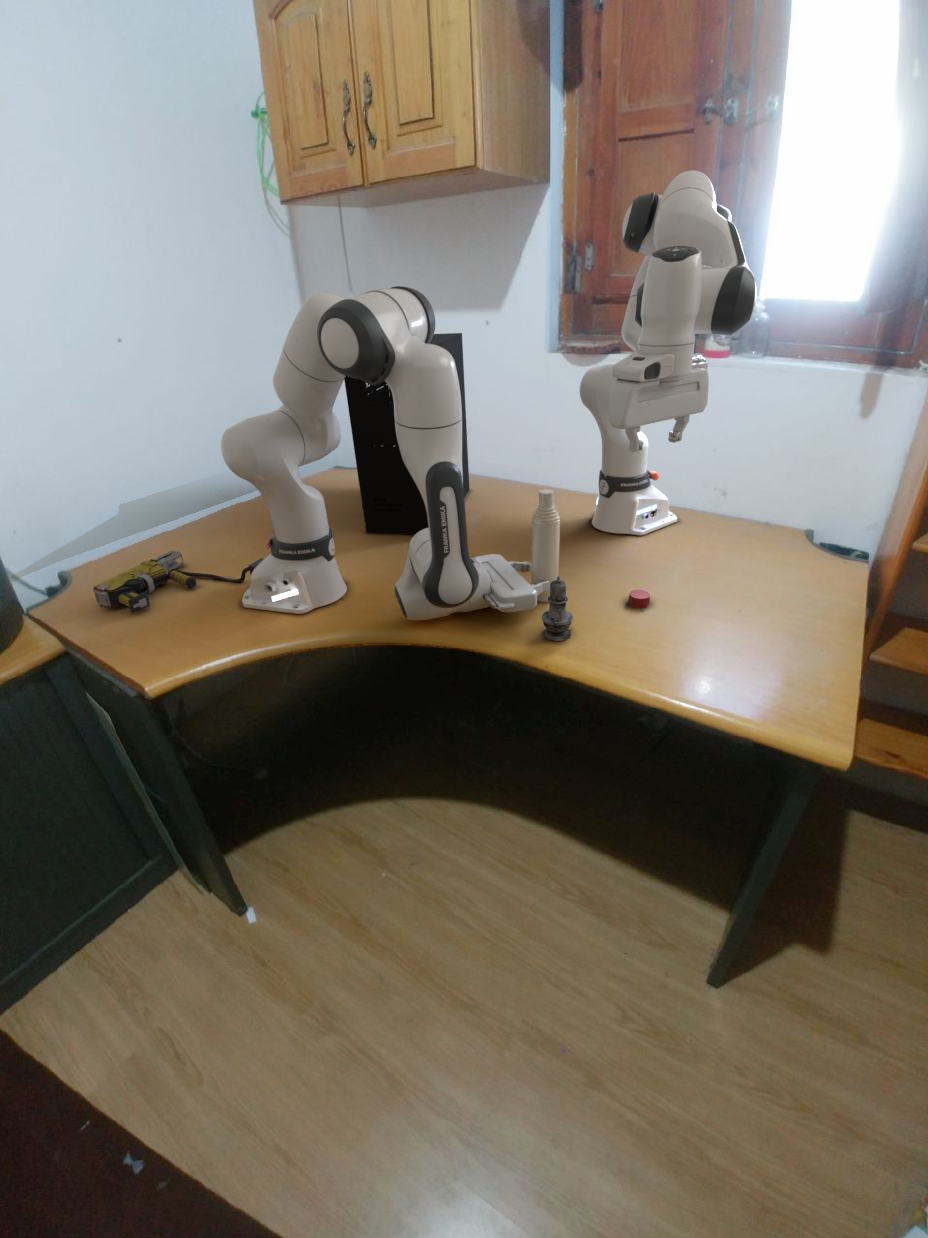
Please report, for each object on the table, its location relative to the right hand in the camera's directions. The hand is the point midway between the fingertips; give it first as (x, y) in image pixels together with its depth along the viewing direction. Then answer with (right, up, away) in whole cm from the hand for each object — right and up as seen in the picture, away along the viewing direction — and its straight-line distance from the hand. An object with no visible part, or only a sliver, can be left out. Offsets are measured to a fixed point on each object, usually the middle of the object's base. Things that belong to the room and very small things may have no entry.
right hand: (655, 446), depth 106 cm
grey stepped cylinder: (-16, -33, +7) cm, 38 cm away
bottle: (-17, -26, +21) cm, 37 cm away
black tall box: (-46, +1, +70) cm, 84 cm away
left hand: (-18, -21, +18) cm, 33 cm away
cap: (+2, -26, +15) cm, 30 cm away
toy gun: (-104, -24, +33) cm, 111 cm away
